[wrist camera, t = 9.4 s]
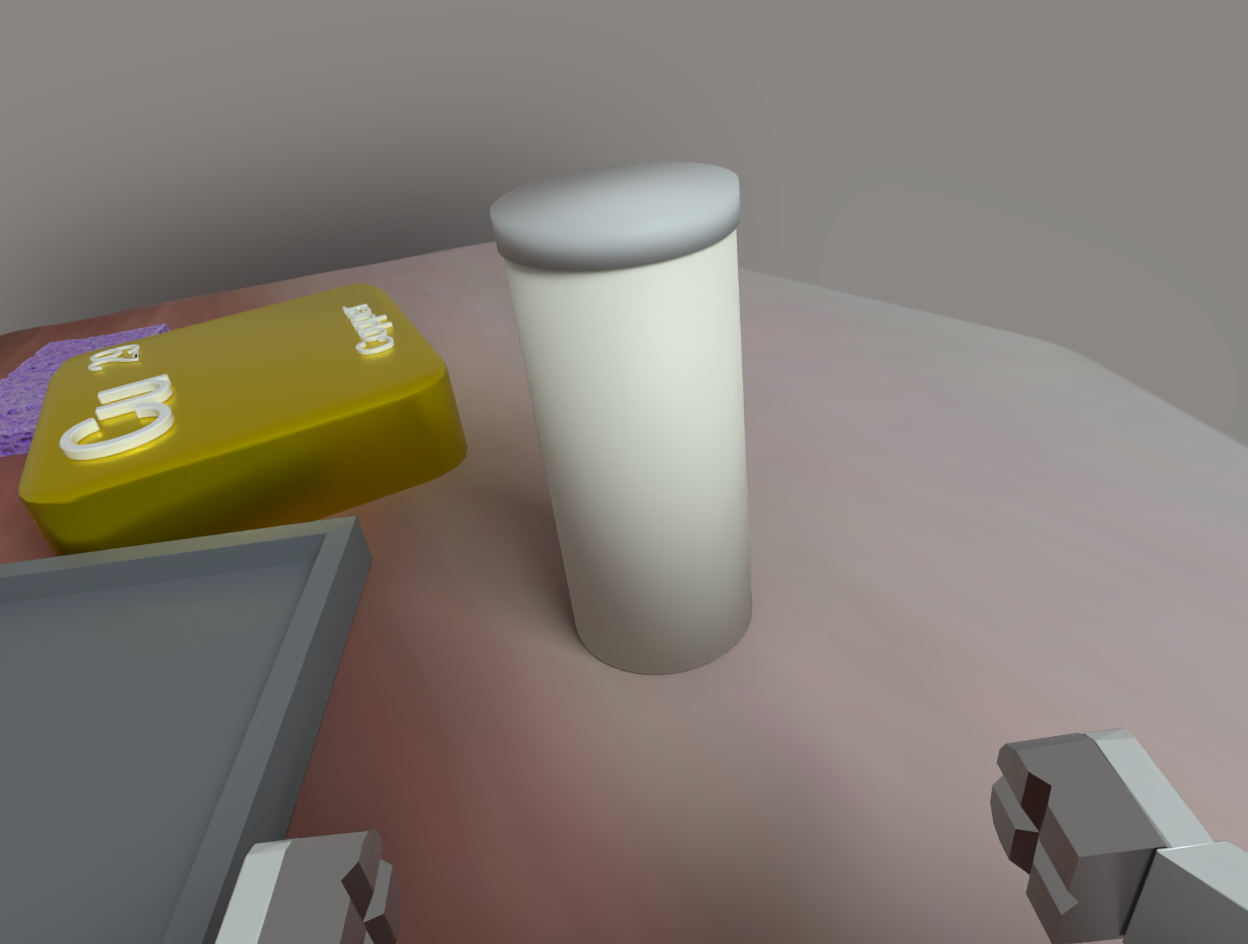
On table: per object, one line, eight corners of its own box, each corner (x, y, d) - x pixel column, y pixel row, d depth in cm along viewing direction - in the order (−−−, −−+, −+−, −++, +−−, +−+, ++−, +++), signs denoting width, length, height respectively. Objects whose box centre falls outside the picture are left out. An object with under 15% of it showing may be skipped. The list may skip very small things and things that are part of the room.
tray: (218, 1052, 15) (179, 1004, 14) (-575, 1159, 15) (-666, 1118, 14) (372, 558, 28) (356, 515, 27) (-63, 618, 28) (-93, 577, 27)
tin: (775, 662, 22) (763, 205, 16) (573, 690, 22) (481, 244, 16) (736, 541, 27) (715, 151, 20) (569, 564, 27) (497, 181, 20)
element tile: (484, 472, 33) (457, 363, 30) (69, 617, 28) (-4, 501, 26) (397, 353, 45) (372, 267, 42) (94, 440, 40) (46, 349, 37)
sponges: (-68, 477, 39) (-91, 443, 38) (63, 366, 49) (48, 337, 48) (81, 456, 39) (62, 421, 38) (180, 349, 49) (167, 320, 48)
